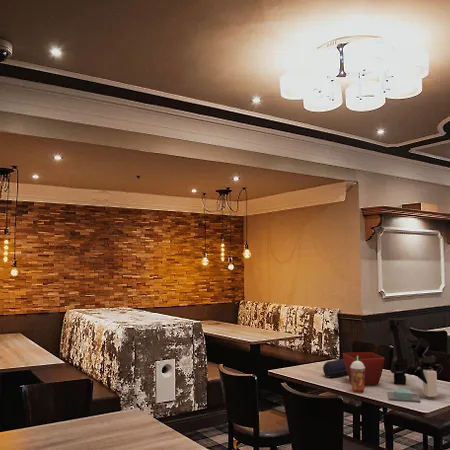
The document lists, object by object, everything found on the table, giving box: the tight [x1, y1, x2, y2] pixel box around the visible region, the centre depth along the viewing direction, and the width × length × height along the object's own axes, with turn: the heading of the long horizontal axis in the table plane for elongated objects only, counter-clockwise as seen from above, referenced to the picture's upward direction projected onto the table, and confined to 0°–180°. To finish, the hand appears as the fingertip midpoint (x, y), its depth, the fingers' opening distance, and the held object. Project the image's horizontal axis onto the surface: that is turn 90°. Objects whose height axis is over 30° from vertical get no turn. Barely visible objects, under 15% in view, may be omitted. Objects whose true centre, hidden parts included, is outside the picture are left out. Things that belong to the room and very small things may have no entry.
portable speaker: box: [322, 358, 348, 378], centre depth 321 cm, size 25×10×10 cm, turn 127°
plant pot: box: [342, 351, 385, 387], centre depth 300 cm, size 19×19×17 cm
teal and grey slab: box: [387, 388, 421, 404], centre depth 268 cm, size 16×14×4 cm
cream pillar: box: [422, 370, 438, 398], centre depth 267 cm, size 5×5×13 cm
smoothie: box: [350, 356, 365, 394], centre depth 282 cm, size 8×8×20 cm
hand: (431, 383), depth 266 cm, fingers closed on cream pillar, 5 cm apart
